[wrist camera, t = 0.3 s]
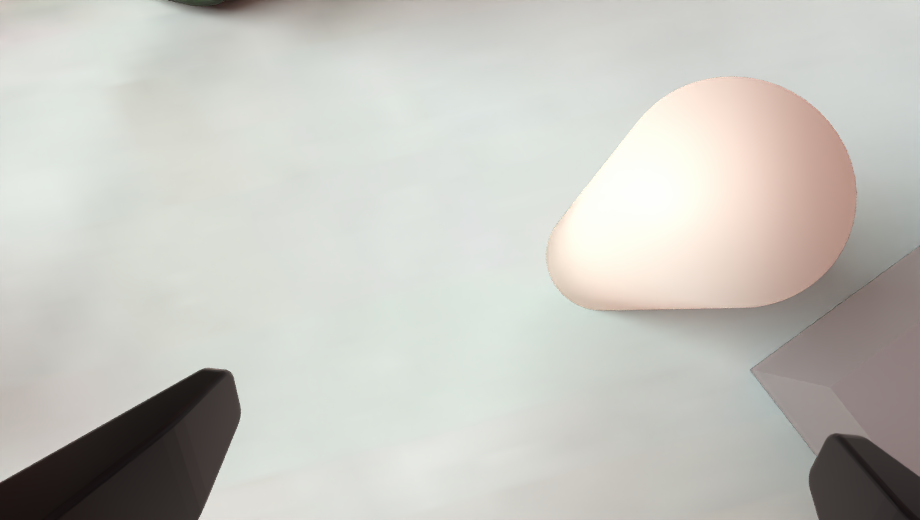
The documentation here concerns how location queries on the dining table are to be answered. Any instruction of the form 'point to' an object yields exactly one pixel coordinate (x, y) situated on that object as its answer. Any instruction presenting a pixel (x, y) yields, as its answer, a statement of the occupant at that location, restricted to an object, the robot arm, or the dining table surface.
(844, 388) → the well block
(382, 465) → the dining table surface
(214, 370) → the robot arm
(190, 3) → the coffee jar
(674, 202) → the pink cylinder peg
